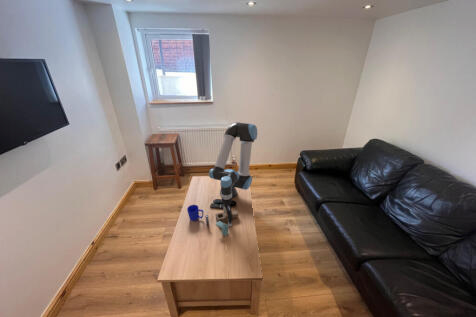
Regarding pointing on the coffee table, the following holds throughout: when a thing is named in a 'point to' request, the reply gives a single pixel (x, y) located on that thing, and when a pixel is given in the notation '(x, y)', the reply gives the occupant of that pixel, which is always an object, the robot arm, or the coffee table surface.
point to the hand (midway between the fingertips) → (227, 219)
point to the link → (226, 216)
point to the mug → (194, 212)
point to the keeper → (223, 227)
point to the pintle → (207, 220)
